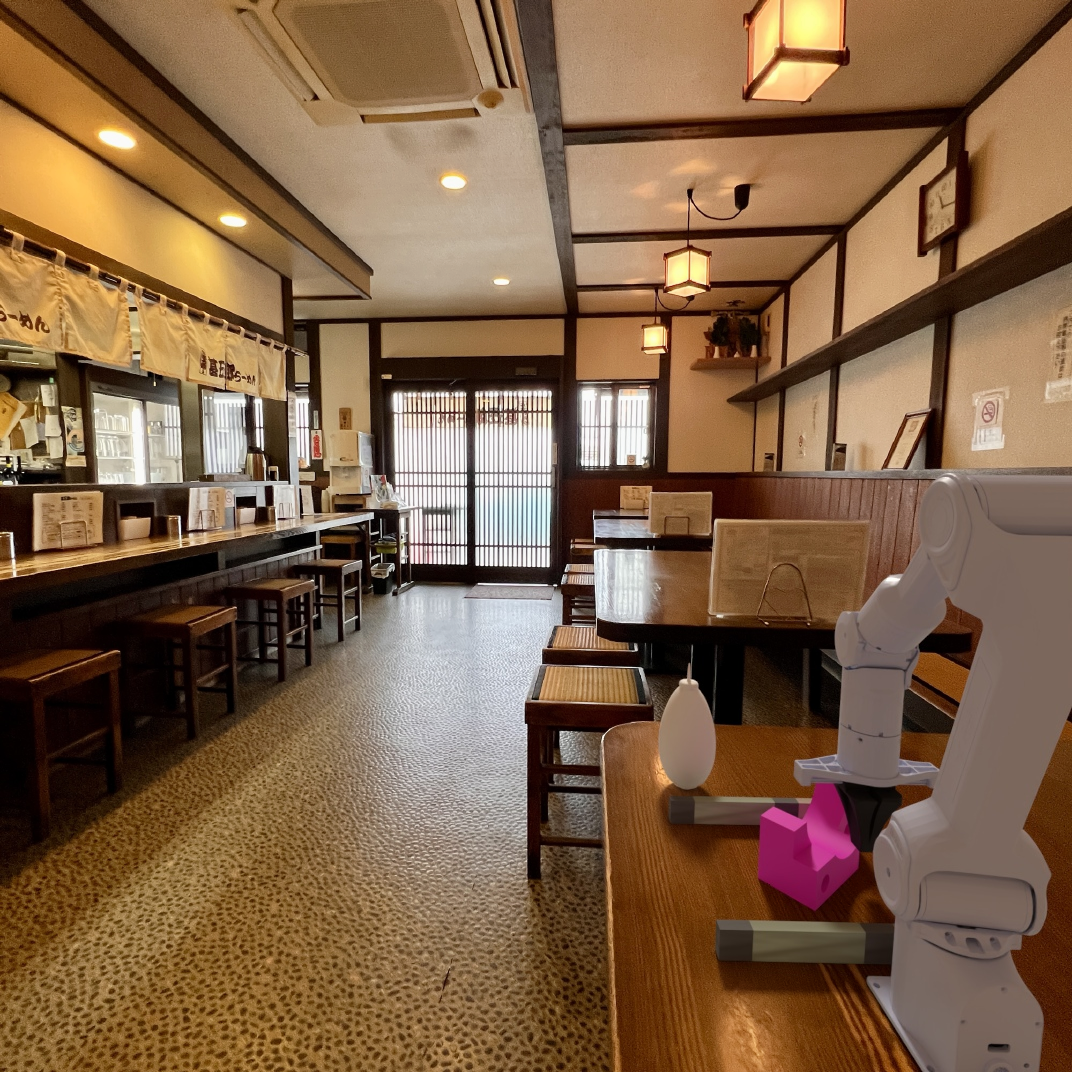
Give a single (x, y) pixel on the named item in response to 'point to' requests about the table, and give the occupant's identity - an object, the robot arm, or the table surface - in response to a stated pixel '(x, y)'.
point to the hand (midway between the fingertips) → (861, 846)
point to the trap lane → (781, 936)
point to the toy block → (808, 849)
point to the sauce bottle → (687, 736)
